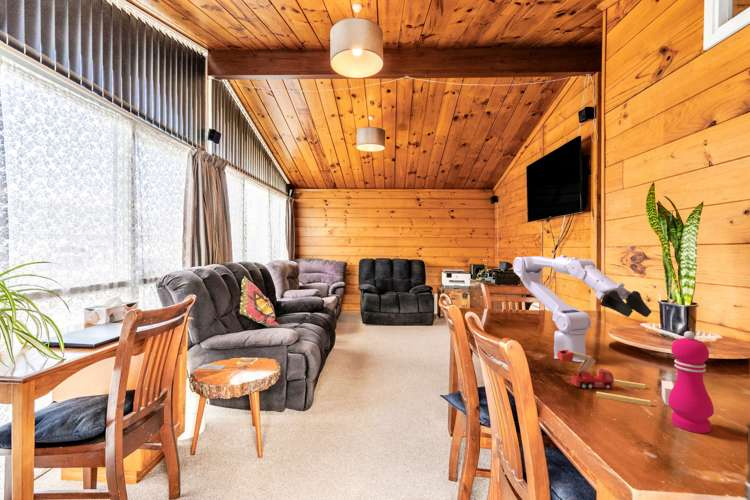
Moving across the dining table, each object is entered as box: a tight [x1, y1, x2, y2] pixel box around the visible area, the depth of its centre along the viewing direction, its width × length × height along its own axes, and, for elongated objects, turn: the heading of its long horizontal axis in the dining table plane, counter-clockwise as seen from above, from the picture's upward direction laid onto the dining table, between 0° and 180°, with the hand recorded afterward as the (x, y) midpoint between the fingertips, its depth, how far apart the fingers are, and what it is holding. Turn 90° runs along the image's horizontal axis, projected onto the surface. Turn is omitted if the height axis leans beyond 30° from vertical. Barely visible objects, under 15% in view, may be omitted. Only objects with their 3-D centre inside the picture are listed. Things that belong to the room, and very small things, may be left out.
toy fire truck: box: [557, 349, 615, 390], centre depth 98 cm, size 3×14×10 cm, turn 84°
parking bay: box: [595, 379, 675, 407], centre depth 93 cm, size 16×13×4 cm
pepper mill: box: [668, 330, 715, 434], centre depth 76 cm, size 7×7×20 cm
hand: (639, 314), depth 101 cm, fingers open, 7 cm apart
